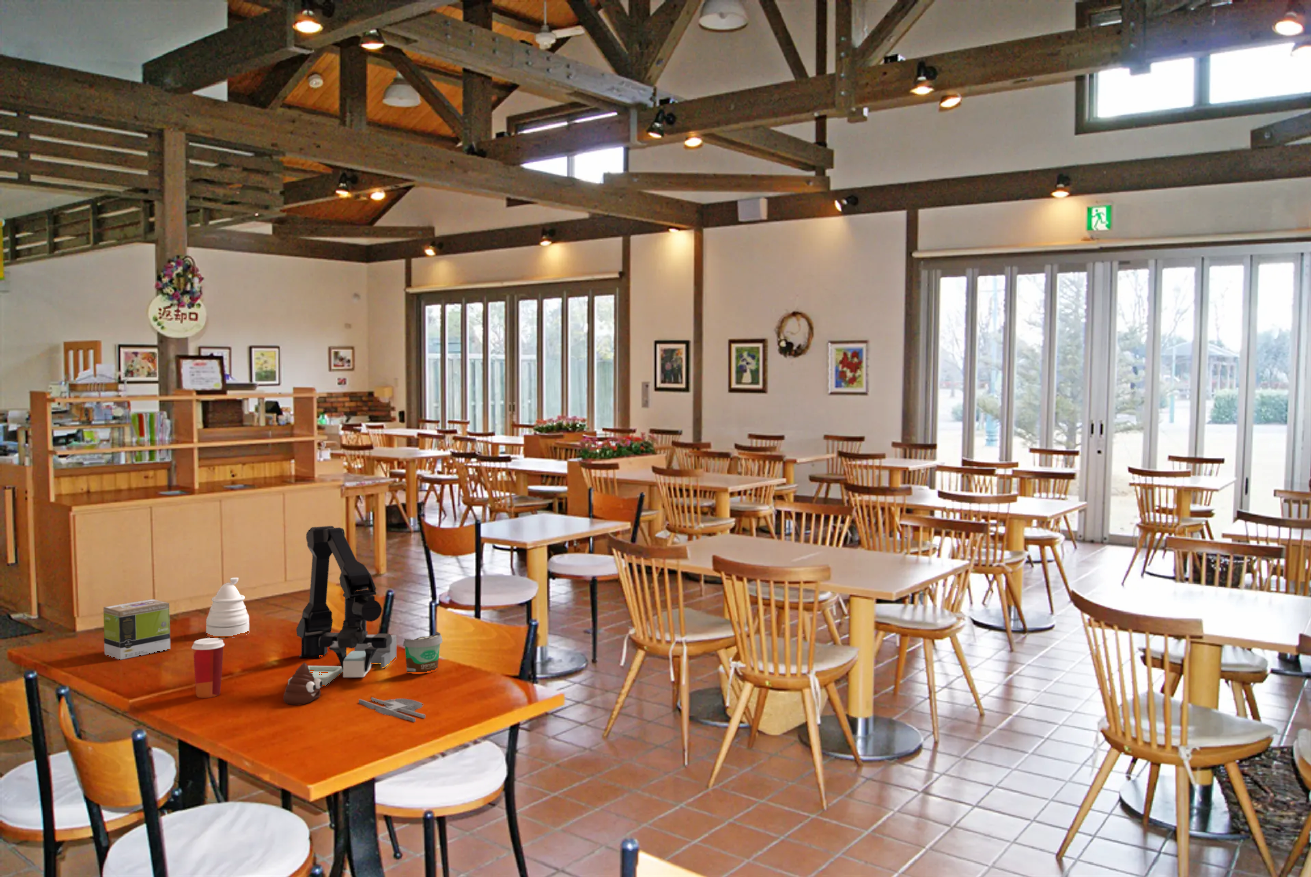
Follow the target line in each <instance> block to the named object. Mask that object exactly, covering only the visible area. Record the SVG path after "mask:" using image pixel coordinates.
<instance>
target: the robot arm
mask: <svg viewBox="0 0 1311 877" xmlns="http://www.w3.org/2000/svg"><path fill="white" fill-rule="evenodd" d="M305 536H306V537H305V538H306V539H305V540H306V542H307V543H306V544H307V548H308V549H309V552H310V553H311V554H312V556H311V558H312V559H311V571H310V573H311V574H310V587H309V602H308V603H307V604H306V606H305V607H304V608H303V610H302V616H301V618H300V621H299V623H298V624H297V627H296V629H295V630H296V635H297V637H299V638H300V639H301V642H300V643H301V649H300V650H301V651H300V652H301V654H299V656H298V658H300V659H302V657H319V655H324V656H326V655H327V654H328V653H329V651H328V649H329V650H330V651H333V652H334V653H335V654H336V657H337V658H338V662H339V663H340V666H341V667H342V669H343V661H344V658H345V657H346V656H347V648H348V649H355V647H356V645H357V644H368V647H367V648H366V649H365V653H366V656H365V672H367V671H368V668H369V665H370V663H371V660H372V658H373V655H374V653H375V651H376V650H377V649H379V648H387V647H388V646H389V645H390V644H392V637H391V635H392V634H390V633H377V634H374V635H375V636H374V637H366V636H367V635H369V634H368V630H367V622H370V623H371V622H374V621H377V620H378V619H379V618H380V616H381V614H382V611H383V610H382V606H381V603H380V602H379V601H377V600H376V598H375V597H376V595H377V591H376V589H377V587H376V584H375V582H374V580H373V577H372V575H371V573H370V572H369V570H368V569H367V567H366V566H365V564H363V563H361V562H359V561H358V559H356V556H355V554H354V552H353V550H352V548H351V546H350V544H349V542H348V540H347V537H346V533H345V529H344V528H341V526H340V527H334V526H333V525H327V526H326V525H325V526H324V525H323V526H312V527H310V528H309V529H308V530H307V532H306V535H305ZM332 555H333V557H334V560H335V561H336V564H337V566H338V568H339V570H340V575H339V584H340V587H341V589H342V591H343V593H342V596H343V597H344V620H343V622H342V627H341V630H340V631H339V632H332V626H333V622H334V621H333V617H332V616H333V612H332V610H331V609H330V608H329V606H328V605H327V598H328V596H327V595H328V587H329V586H328V585H329V584H328V583H329V582H328V581H329V571H330V570H329V569H330V557H331V556H332ZM327 652H328V653H327ZM326 653H327V654H326ZM325 654H326V655H325ZM320 657H321V656H320ZM321 658H322V657H321ZM368 672H369V671H368Z"/></svg>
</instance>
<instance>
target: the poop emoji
mask: <svg viewBox="0 0 1311 877" xmlns="http://www.w3.org/2000/svg"><path fill="white" fill-rule="evenodd" d="M308 666H309V665H308V664H307V663H306V662H303V663H302V664H300V666H299V667H297V669H296V671H295V673H294V674H292V678H291V677H290V678H291V679H290V678H289V679H290V681H289V685H288V684H287V686H286V687H285V690H284V693H283V701H284V703H285V704H287V705H293V706H301V705H307V704H309V703H311V702H313V701H315V700H316V699H319V698H320V696H321V694H322V693H321V692H322V691H321V689H320V688H322V687H323V686H322V681H321V679H319V678H316V679H314V677H313V674H312V673H310V671H309V668H308Z"/></svg>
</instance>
